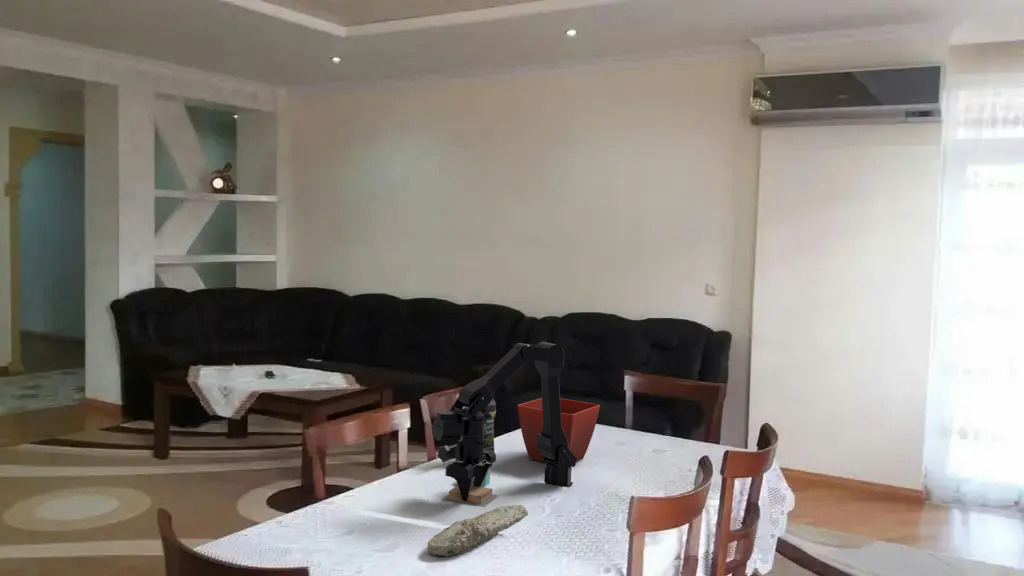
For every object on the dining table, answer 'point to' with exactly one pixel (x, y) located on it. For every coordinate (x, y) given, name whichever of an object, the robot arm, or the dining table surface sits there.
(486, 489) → the lid
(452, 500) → the mat
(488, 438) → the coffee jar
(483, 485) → the bowl
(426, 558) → the dining table surface
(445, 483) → the dining table surface
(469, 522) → the long grey stone
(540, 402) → the plant pot
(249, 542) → the dining table surface
